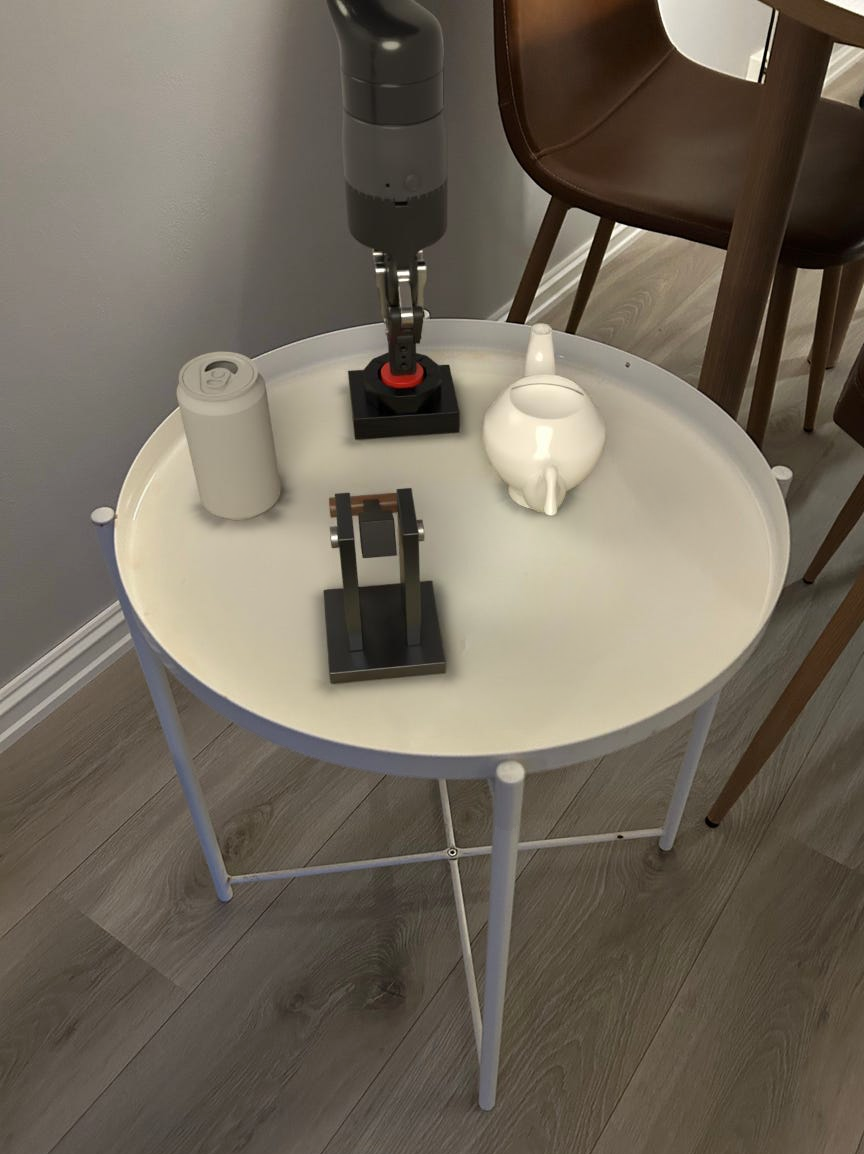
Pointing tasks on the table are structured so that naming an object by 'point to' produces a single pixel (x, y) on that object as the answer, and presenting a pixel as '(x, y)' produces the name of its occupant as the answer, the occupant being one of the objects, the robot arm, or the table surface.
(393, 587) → the bracket
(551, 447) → the teapot
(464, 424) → the table surface
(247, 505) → the beverage can
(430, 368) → the control block
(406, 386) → the button
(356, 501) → the lever
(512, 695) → the table surface
